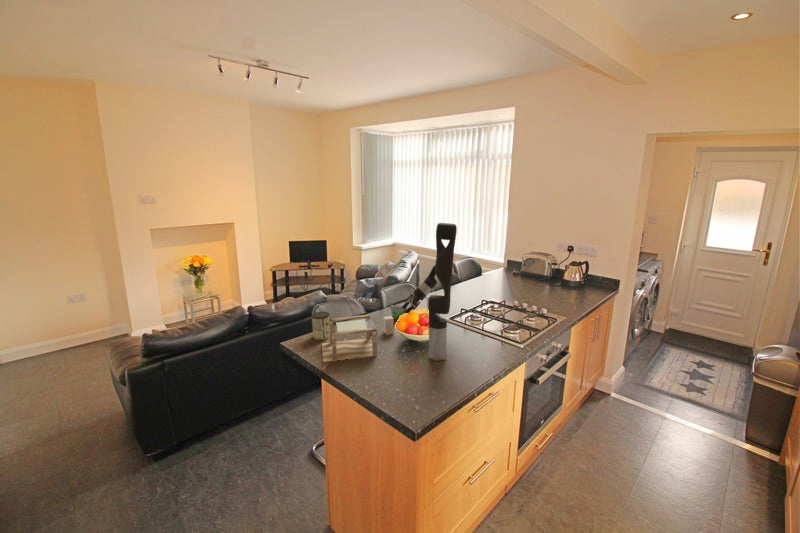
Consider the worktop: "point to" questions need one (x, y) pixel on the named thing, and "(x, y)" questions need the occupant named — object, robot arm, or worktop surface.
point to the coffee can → (321, 325)
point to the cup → (429, 296)
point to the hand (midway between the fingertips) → (404, 310)
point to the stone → (388, 325)
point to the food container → (397, 311)
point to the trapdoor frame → (349, 343)
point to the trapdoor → (355, 325)
